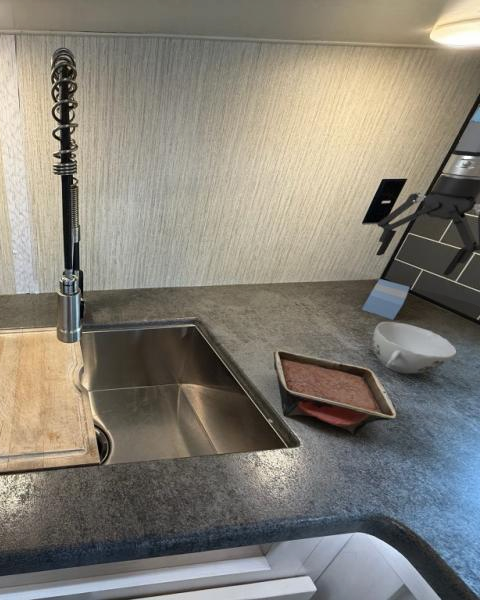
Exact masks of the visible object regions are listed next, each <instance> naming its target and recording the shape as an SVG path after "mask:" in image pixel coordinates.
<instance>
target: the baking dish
mask: <svg viewBox="0 0 480 600" xmlns="http://www.w3.org/2000/svg"><path fill="white" fill-rule="evenodd" d="M273 359H274V360H273V361H274V362H273V367H274V370H275V373H276V377H277V383H278V387H279V394H280V401H281V402H280V403H281V409H282V415H283V417H288V416H304V417H305V416H306V417H315V418H316V419H317V420H319V421H322V422H324V423H326V424H328V425H331V426H336V427H339V428H341V429H344V430H347V431H349V432H350V433H351V434H353V435H354V436H356V435H357V434H358V433H359V432H360V431H361V430H362V429H363V428H364V427H365V426H366V425H368V424H369V423H374V422H379V421H389V420H395V419H396V418H397V414H398V413H397V409H396V404H394V402H393V401H392V398H391V397H390V395H389V393H388V390H387V389H386V388H385V386H384V384H383V383H382V382H381V381H380V379H379V378H378V377H377V375H376V374H375V372H373V371H372V370H371V369H369V368H368V367H364V366H360V365H355V364H350V363H344V362H339V361H335V360H331V359H325V358H321V357H316V356H310V355H307V354H301V353H296V352H291V351H287V350H281V349H278V350H277V349H276V350H275V351H274V352H273Z"/></svg>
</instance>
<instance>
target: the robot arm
mask: <svg viewBox="0 0 480 600" xmlns="http://www.w3.org/2000/svg"><path fill="white" fill-rule="evenodd" d="M442 173H443V175H440V176H439V177H438V178H437V179H436V182H435V184H434V185H433V186H432V189H431V191H430V193H428V194H427V195H424V194H421V193H420V192H414V193H410V195H409V196H408V197H407V198H406V199H405V202H403V203H402V204H401V205H399V206H398V207H397V208H396V209H394V210H393V211H392V212H390V213H389V214H388V215H386V216H385V217H384V218H383V219H381V220H380V221H378V222H377V224H376V225H377V227H380V228H381V229H383V231H382V233H381V235H380V237H379V239H378V242H379V243H381V244H380V246H379V248H378V250H377V252H376V254H375V255H376V256H382V255H385V253H386V251H387V250H388V248H389V246H390V244H391V242H392V240H393V238H394V237H395V235H396V234H397V230H395V229H397V228H398V227H402V226H403V225H405V224H407V223H410V222H411V221H414V220H415V219H418V218H420V217H422V216H425V215H427V216H428V217H430V218H438V219H441V220H445V221H447V220H451V221H452V223H453V225H455V227H456V231H457V232H458V234H459V236H460V239H461V241H462V243H463V245H464V247H461V248H459V249H458V251H457V252H456V254H455V256H454V257H453V258H452V260H451V261H450V262H449V264H448V265H447V267H446V269H445V270H444V272H443V273H442V275H444V276H449V275H451V274H452V273H453V272H454V271H455V269H456V268H457V266H458V265H459V264H465V263H467V262H468V261H469V260H470V259H471V257H472V256H473V254H474V253H475V251H480V203H476V202H477V199H478V198H479V196H480V106H479V107H478V108H477V109H476V111H475V113H474V115H473V116H472V117H471V119H470V120H469V123H468V125H467V127H466V129H465V130H464V132H463V134H462V135H461V138H460V140H459V142H458V144H457V145H456V147H455V149H454V150H453V152H452V154H451V155H450V157H449V159H448V161H447V162H446V164H445V166H444V168H443V169H442ZM420 202H422V204H423V207H424V208H422V209H419V210H417V211H416V212H414V213H412V214H409V215H408V216H405V217H404V218H401V219H398V220H397V221H395V222H393V223H391V222H392V221H394V220H395V219H396V218H398V217H399V216H400V215H402V214H403V213H404V212H406V211H407V210H408V209H410V208H411V207H412V206H413V205H415V204H419V203H420ZM472 210H474V211H475V215H477V227H478V228H477V230H478V231H477V232H478V242H477V240H476V238H475V234H474V233H473V231H472V229H471V226H470V224H469V222H468V217H467V215H466V214H467V213H468V212H470V211H472Z"/></svg>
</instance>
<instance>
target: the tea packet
mask: <svg viewBox="0 0 480 600" xmlns="http://www.w3.org/2000/svg"><path fill="white" fill-rule="evenodd" d="M409 291H410V286H407V285H404V284H400V283H396V282H394V281H389V280H385V279H381V278H379V279H378V281H377V283H376V284H375V286H374V287H373V288H372V290H371V292H370V294H369V295H368V298H367V299H366V301H365V303H364V304H363V306H362V308H361V310H362V311H364V312H367V313H371V314H374V315H376V316H380V317H383V318H385V319H388V320H392V321H393V320H394V319H395V318H396V316H397V314H398V313H399V312H400V310H401V308H402V307H403V305H404V303H405V301H406V298H407V297H408V293H409Z"/></svg>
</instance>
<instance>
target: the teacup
mask: <svg viewBox="0 0 480 600" xmlns="http://www.w3.org/2000/svg"><path fill="white" fill-rule="evenodd" d="M372 347H373V351H374V353H375V355H376V357H377V358H378V359H379V361H380V363H381V364H382V365H383V366H384V367H385V368H387V369H389V370H391V371H393V372H396V373H400V374H407V375H409V374H420V373H421V374H422V373H426V372H430V371H433V370H436V369H438V368H440V367H441V366H443V365H445V364H446V363H448V362H450V360H451V359H453V357H455V356H456V355H457V350H456V347H455V346H454V345H452V343H451V342H449V340H448V339H446V338H444V337H443V336H441V335H439V334H437V333H434V332H433V331H431V330H429V329H424V328H421V327H419V326H415V325H411V324H408V323H402V322H401V323H400V322H395V321H382V322H379V323H378V324H377V325H376V327H375V329H374V331H373V335H372Z"/></svg>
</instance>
